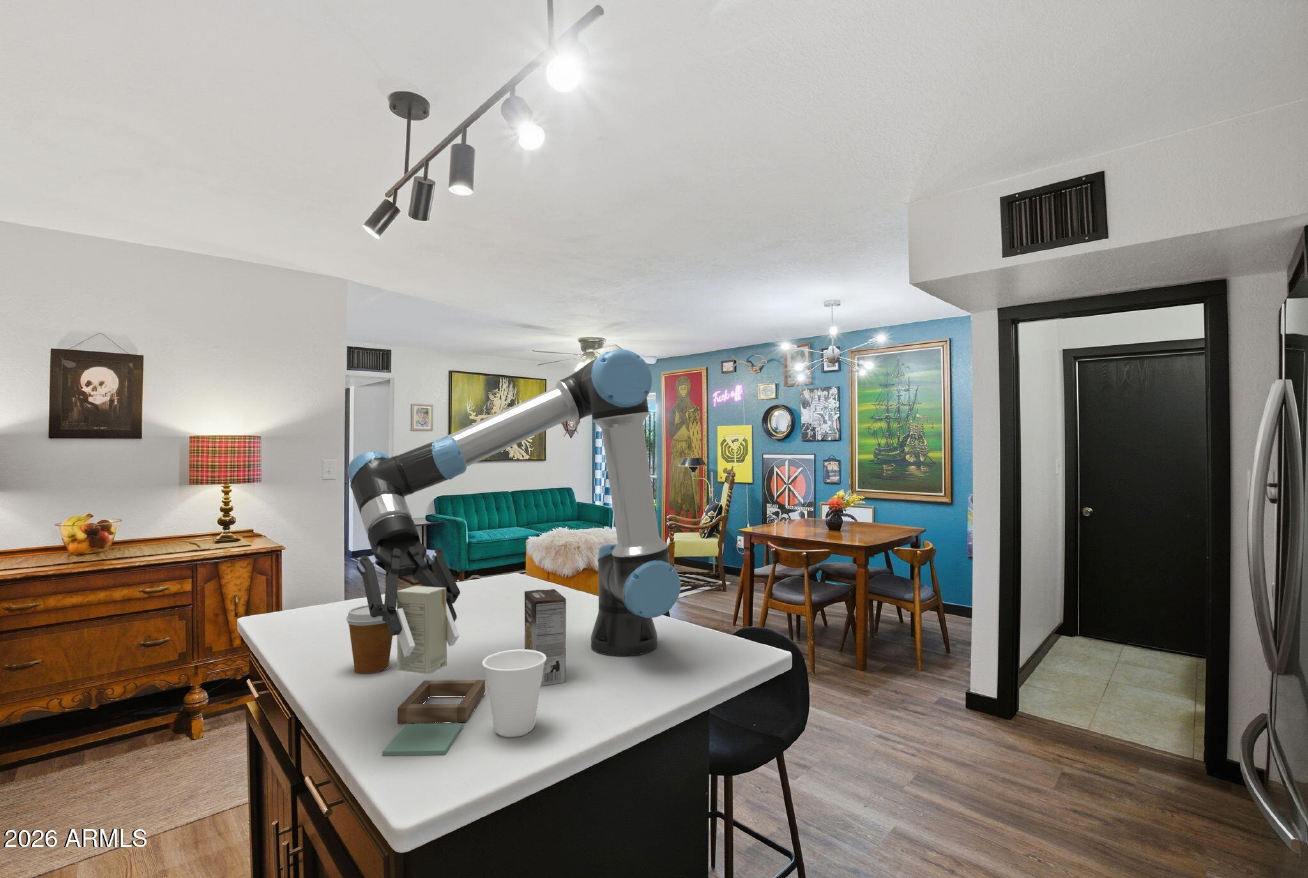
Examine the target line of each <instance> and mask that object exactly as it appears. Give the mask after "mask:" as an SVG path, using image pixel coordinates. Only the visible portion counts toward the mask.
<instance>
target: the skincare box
mask: <svg viewBox="0 0 1308 878" xmlns="http://www.w3.org/2000/svg"><path fill="white" fill-rule="evenodd" d="M400 608H403V611H404V614H405V617H406V620H407V623H408V626H409V629H410V632H411V635H412V638H413V641H414V644H415V647H414V649H413V650H412V652H411V654H410V656H406V657H404V654H403V651H402V648H401V645H400V642H399V639H398V636H397V635H396V640H397V641H396V643H397V645H396V647H397V653H396V655H397V656H396V657H397V659H396V661H397V670H398V671H400V672H401V671H402V672H409V673H416V674H417V673H418V674H426V675H429V674H432V673H434V672H436V671H439V670H441V669H442V668H444V667H446V666H447V665H448V642H447V619H446V588H441V587H425V586H422V585H413V586H409V587H406V588H402V589H399V590H397V606H396V610H397V609H400Z"/></svg>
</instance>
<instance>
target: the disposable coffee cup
mask: <svg viewBox="0 0 1308 878" xmlns="http://www.w3.org/2000/svg"><path fill="white" fill-rule="evenodd" d="M345 619H346V622H347V624H348V628H349V634H350V635H349V638H350V642H351V643H350V644H351V653H352V660H353V668H354V669H353V670H354V672H355V673H357V674H362V675H363V674H364V675H365V674H375V672H376V673H380V672H382V671H381V670H383V671H385V670H386V668H387V667H388V666H390V659H391V650H392V643H393V638H394V636H392V634H391V633H390V630H389V627H388V624H387V622H384V621H383V620H382V616H378V617H376V618H373V617H371V615H370V611H369V606H368V604H367V605H361V606H360V605H359V606H357V607H353V608H351V609H349V611H348V613H347V616H346V618H345ZM388 668H389V667H388ZM388 668H387V669H388ZM384 669H385V670H384ZM379 671H380V672H379Z"/></svg>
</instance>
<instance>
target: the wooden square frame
mask: <svg viewBox="0 0 1308 878" xmlns="http://www.w3.org/2000/svg"><path fill="white" fill-rule="evenodd" d="M484 693H485V694H486V679H456V680H455V679H451V680H450V679H449V680H447V679H446V680H444V679H442V680H441V679H440V680H439V679H437V680H435V679H434V680H423V681H422V682H421V683H420V684H419V685H418V686H417V687H416V688H415V690H413V691H412V692H411V694H410V695H409V696H408V697H407V698H406V699H405V700H404V701H402V703H401V704H400V705H399V706H398V707H397V721H396V722H397V724H399V725H403V724H404V723H405V724H404V725H406V723H407V724H408V723H415V724H437V722H438V723H439V722H440V723H441V722H466V721H467V720H468V721H469V719H470V718H471V716H472V714H473V713H474V711H475V710H476V708H477V707H478V705H479V704H478V703H480V702H481V701H482V699H483V698H484V696H485V695H484ZM483 695H484V696H483ZM430 696H465V697H462V700H461V701H460V702H459V703H426V702H427V701H428V700H429V699H428V697H430ZM482 697H483V698H482ZM481 698H482V699H481ZM427 699H428V700H427ZM426 700H427V701H426ZM480 700H481V701H480ZM425 701H426V702H425ZM479 701H480V702H479ZM424 702H425V703H424ZM423 703H424V704H423ZM477 704H478V705H477ZM476 706H477V707H476ZM474 709H475V710H474ZM472 712H473V713H472ZM469 717H470V718H469ZM468 718H469V719H468ZM468 721H467V722H468ZM435 722H436V723H435ZM467 722H466V723H467Z"/></svg>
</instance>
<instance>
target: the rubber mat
mask: <svg viewBox="0 0 1308 878" xmlns="http://www.w3.org/2000/svg"><path fill="white" fill-rule="evenodd" d="M462 727H463V728H464V723H415V724H404V726H403V727H402V728H401V729H400V730H399V731H398V733H397V734H396V735H395V736H394V737H393V738H392V739H391V741H390V742H389V743H388V744H387V746H386V747H385V748H384V749H383V750H382V751H381V752H382V755H381V756H382V757H383V756H385V757H386V756H387V757H388V756H389V757H390V756H445V755H446V754H447V753H448V751H449V750H450V749H451V747H452V744H454V742H455V741H456V740H457V739H456V738H457V737H458V736H459V734H460V733H461V732H462V730H463V728H462ZM461 729H462V730H461ZM459 732H460V733H459ZM457 735H458V736H457Z"/></svg>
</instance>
